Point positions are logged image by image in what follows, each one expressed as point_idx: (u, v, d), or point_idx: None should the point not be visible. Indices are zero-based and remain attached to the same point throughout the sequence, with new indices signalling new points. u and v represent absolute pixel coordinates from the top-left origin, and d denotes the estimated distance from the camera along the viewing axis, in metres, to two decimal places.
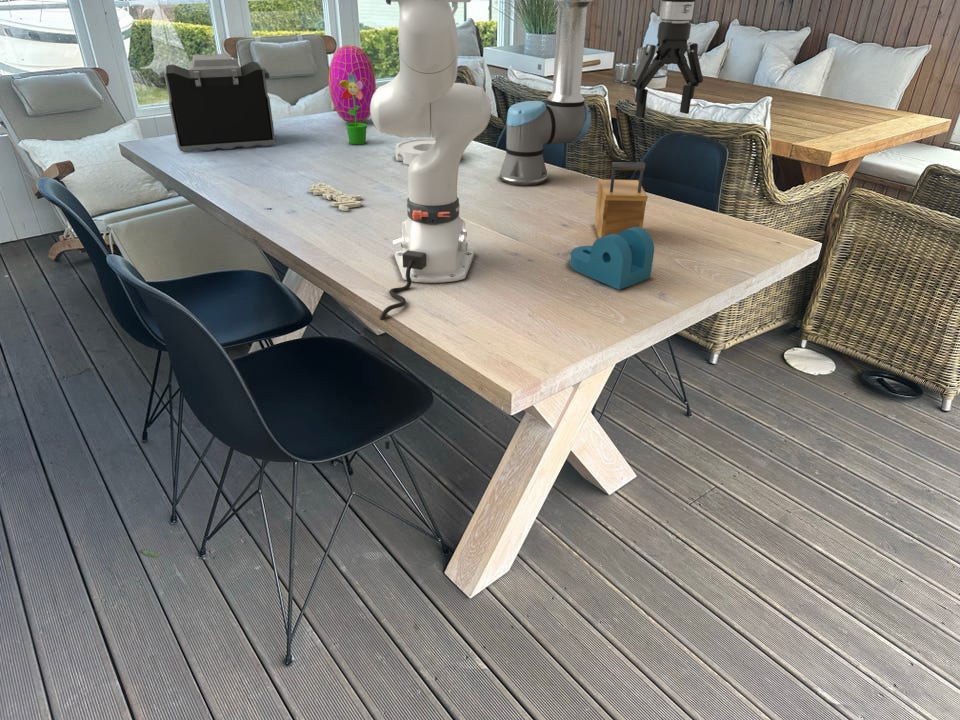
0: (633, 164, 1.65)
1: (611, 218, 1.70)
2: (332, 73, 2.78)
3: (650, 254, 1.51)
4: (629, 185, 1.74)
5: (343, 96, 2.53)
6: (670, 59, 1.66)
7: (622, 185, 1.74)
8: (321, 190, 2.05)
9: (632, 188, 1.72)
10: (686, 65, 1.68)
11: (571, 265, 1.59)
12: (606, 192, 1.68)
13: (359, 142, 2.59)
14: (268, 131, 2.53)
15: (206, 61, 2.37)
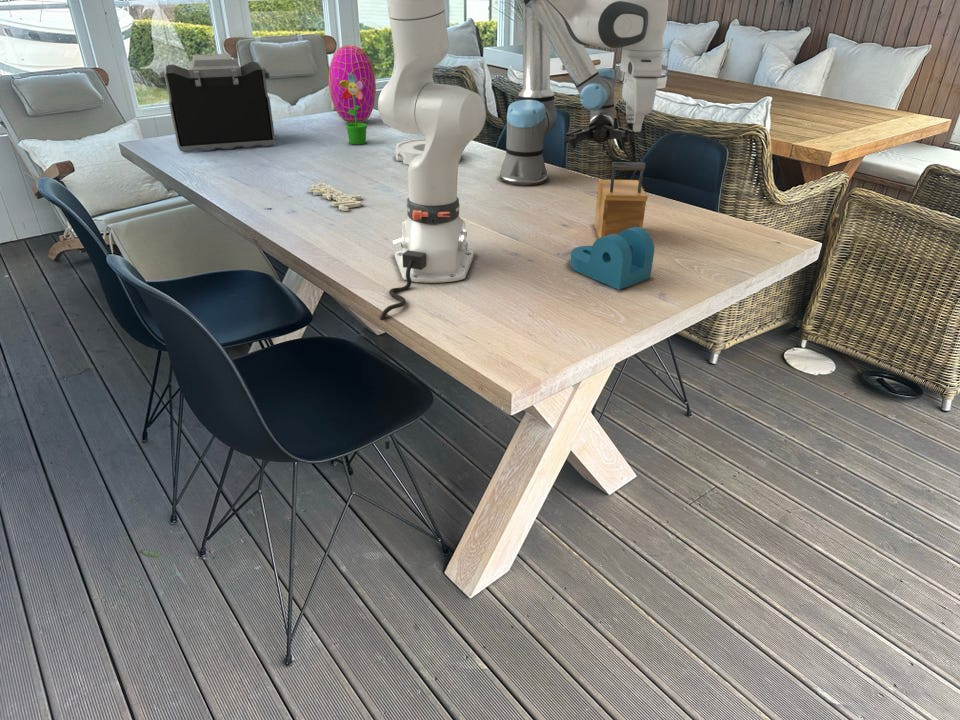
0: (633, 164, 1.65)
1: (611, 218, 1.70)
2: (332, 73, 2.78)
3: (650, 254, 1.51)
4: (629, 185, 1.74)
5: (343, 96, 2.53)
6: (602, 137, 2.04)
7: (622, 185, 1.74)
8: (321, 190, 2.05)
9: (632, 188, 1.72)
10: None
11: (571, 265, 1.59)
12: (606, 192, 1.68)
13: (359, 142, 2.59)
14: (268, 131, 2.53)
15: (206, 61, 2.37)
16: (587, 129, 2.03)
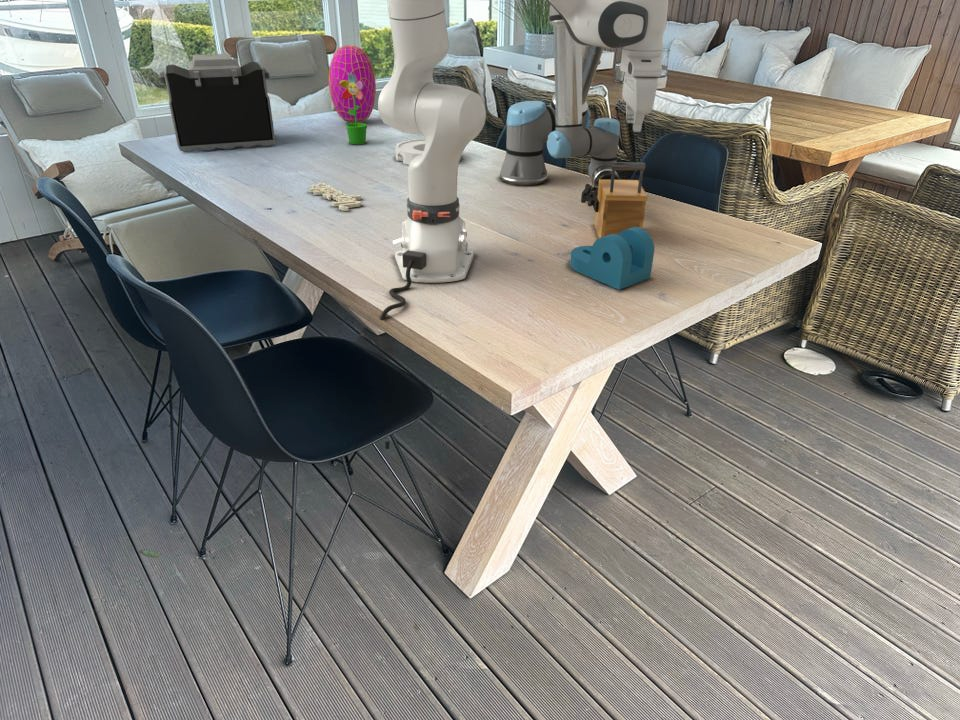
0: (633, 164, 1.65)
1: (611, 218, 1.70)
2: (332, 73, 2.78)
3: (650, 254, 1.51)
4: (629, 185, 1.74)
5: (343, 96, 2.53)
6: None
7: (622, 185, 1.74)
8: (321, 190, 2.05)
9: (632, 188, 1.72)
10: None
11: (571, 265, 1.59)
12: (606, 192, 1.68)
13: (359, 142, 2.59)
14: (268, 131, 2.53)
15: (206, 61, 2.37)
16: None
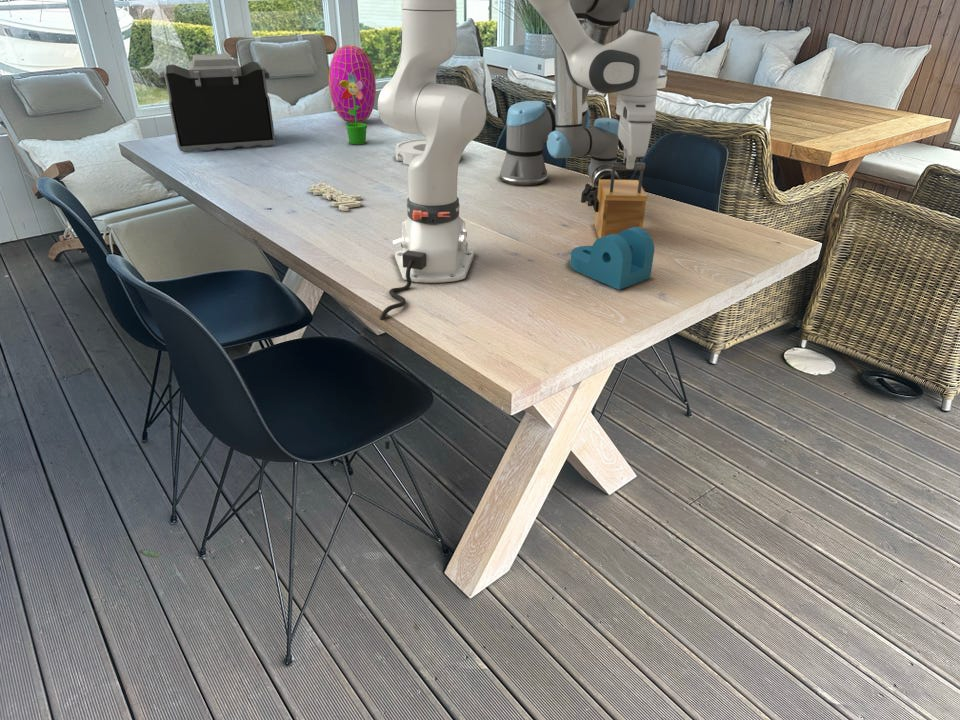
0: None
1: (611, 218, 1.70)
2: (332, 73, 2.78)
3: (650, 254, 1.51)
4: (629, 185, 1.74)
5: (343, 96, 2.53)
6: None
7: (622, 185, 1.74)
8: (321, 190, 2.05)
9: (632, 188, 1.72)
10: None
11: (571, 265, 1.59)
12: (606, 192, 1.68)
13: (359, 142, 2.59)
14: (268, 131, 2.53)
15: (206, 61, 2.37)
16: None
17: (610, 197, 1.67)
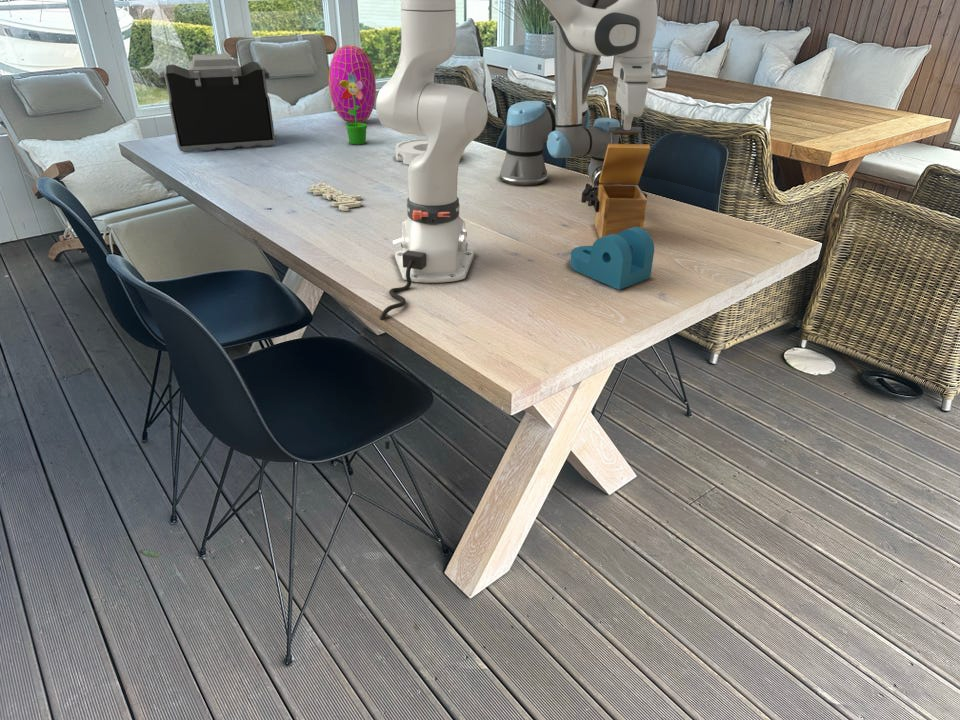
0: None
1: (612, 218, 1.70)
2: (332, 73, 2.78)
3: (650, 254, 1.51)
4: None
5: (343, 96, 2.53)
6: None
7: None
8: (321, 190, 2.05)
9: None
10: None
11: (571, 265, 1.59)
12: None
13: (359, 142, 2.59)
14: (268, 131, 2.53)
15: (206, 61, 2.37)
16: None
17: (613, 145, 1.66)
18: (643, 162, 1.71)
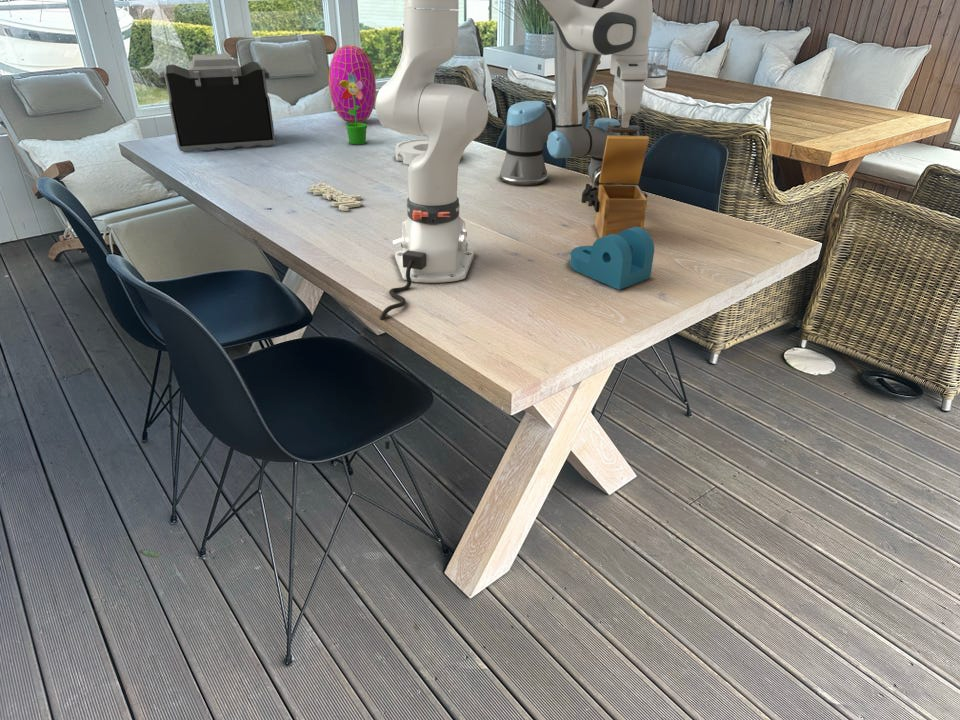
0: None
1: (612, 218, 1.70)
2: (332, 73, 2.78)
3: (650, 254, 1.51)
4: None
5: (343, 96, 2.53)
6: None
7: None
8: (321, 190, 2.05)
9: None
10: None
11: (571, 265, 1.59)
12: None
13: (359, 142, 2.59)
14: (268, 131, 2.53)
15: (206, 61, 2.37)
16: None
17: (612, 136, 1.68)
18: (642, 156, 1.71)
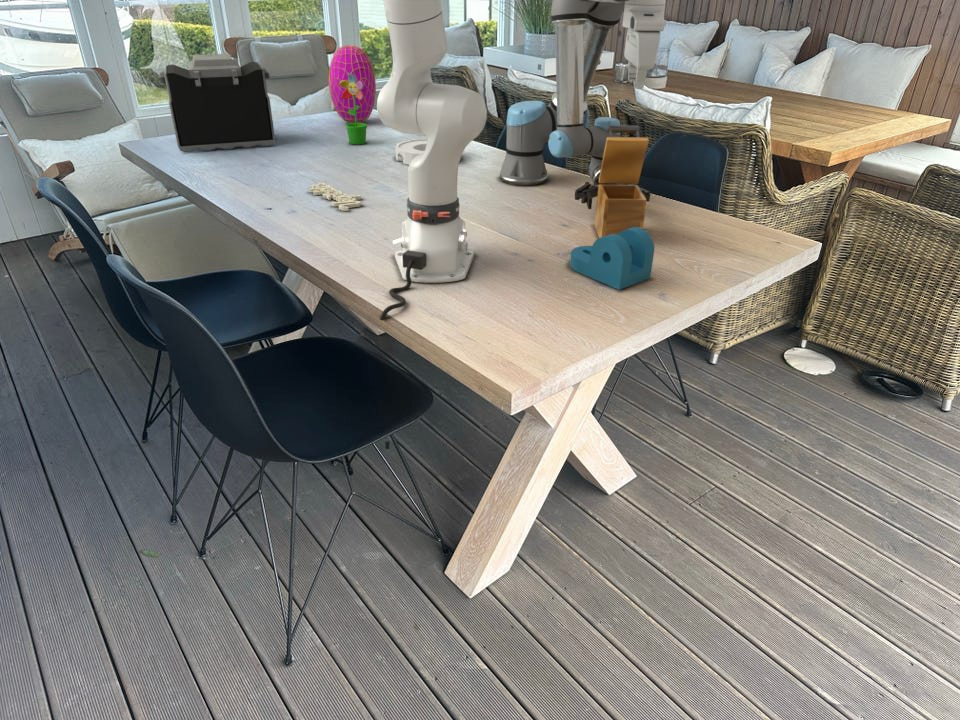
0: None
1: (611, 218, 1.70)
2: (332, 73, 2.78)
3: (650, 254, 1.51)
4: None
5: (343, 96, 2.53)
6: None
7: None
8: (321, 190, 2.05)
9: None
10: None
11: (571, 265, 1.59)
12: None
13: (359, 142, 2.59)
14: (268, 131, 2.53)
15: (206, 61, 2.37)
16: None
17: (611, 138, 1.67)
18: (642, 157, 1.71)
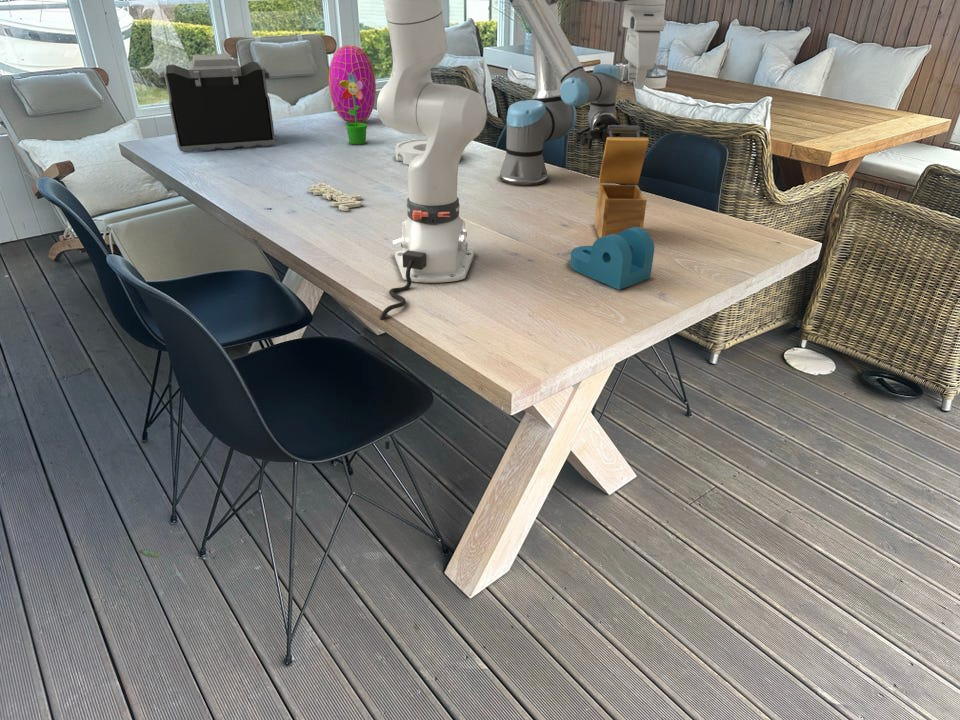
0: None
1: (611, 218, 1.70)
2: (332, 73, 2.78)
3: (650, 254, 1.51)
4: None
5: (343, 96, 2.53)
6: None
7: None
8: (321, 190, 2.05)
9: None
10: None
11: (571, 265, 1.59)
12: None
13: (359, 142, 2.59)
14: (268, 131, 2.53)
15: (206, 61, 2.37)
16: (597, 128, 1.93)
17: (611, 138, 1.67)
18: (642, 157, 1.71)
